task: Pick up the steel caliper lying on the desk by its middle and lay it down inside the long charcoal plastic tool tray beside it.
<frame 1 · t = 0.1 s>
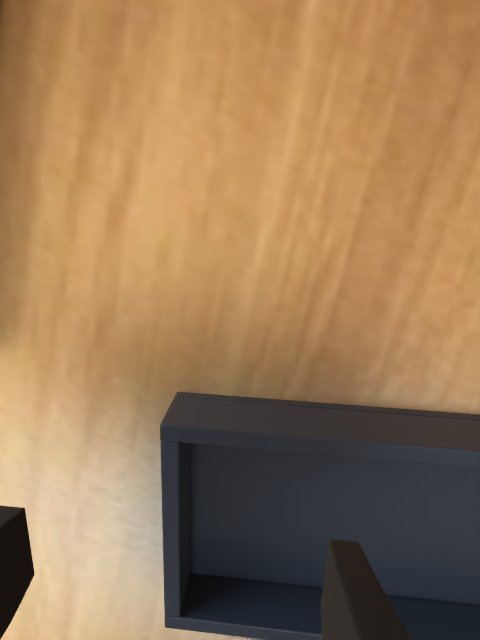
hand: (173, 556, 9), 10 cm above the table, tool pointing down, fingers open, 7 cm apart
tool tray: (416, 513, 20), on the table
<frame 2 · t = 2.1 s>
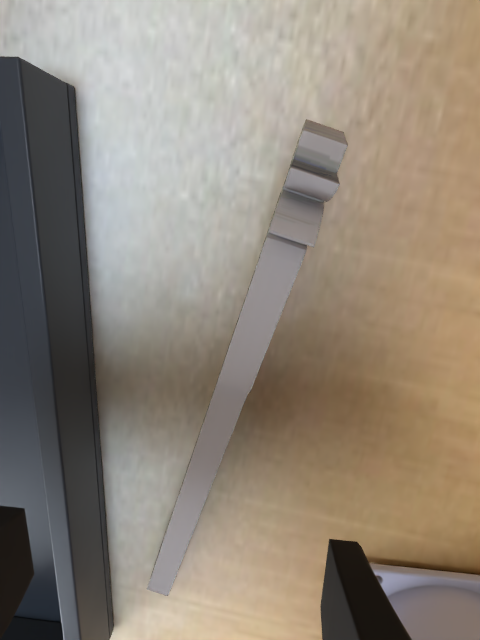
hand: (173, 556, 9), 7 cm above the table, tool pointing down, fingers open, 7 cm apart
caliper: (222, 402, 16), on the table
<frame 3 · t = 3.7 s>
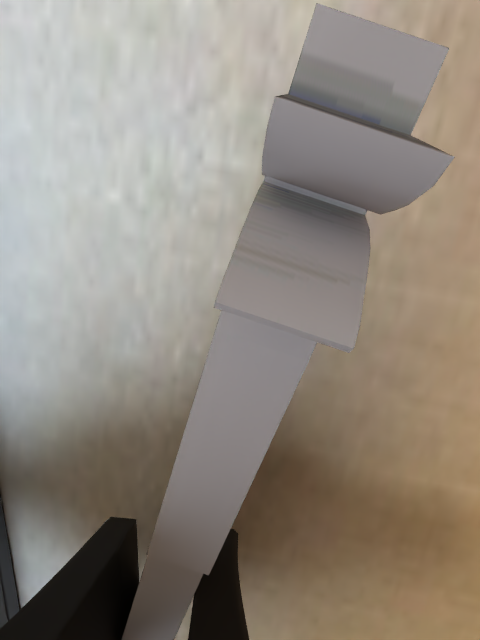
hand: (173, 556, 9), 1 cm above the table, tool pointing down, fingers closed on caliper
caliper: (187, 506, 11), on the table, touching gripper
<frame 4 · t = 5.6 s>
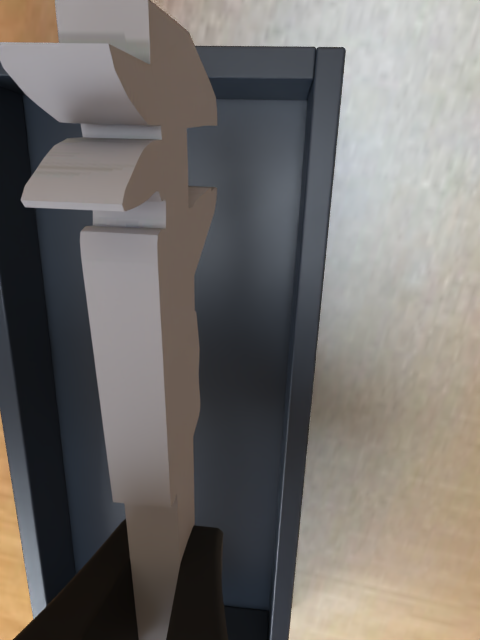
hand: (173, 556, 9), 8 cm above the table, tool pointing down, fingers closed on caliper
tool tray: (170, 392, 18), on the table
caliper: (190, 499, 11), point 6 cm above the table, touching gripper
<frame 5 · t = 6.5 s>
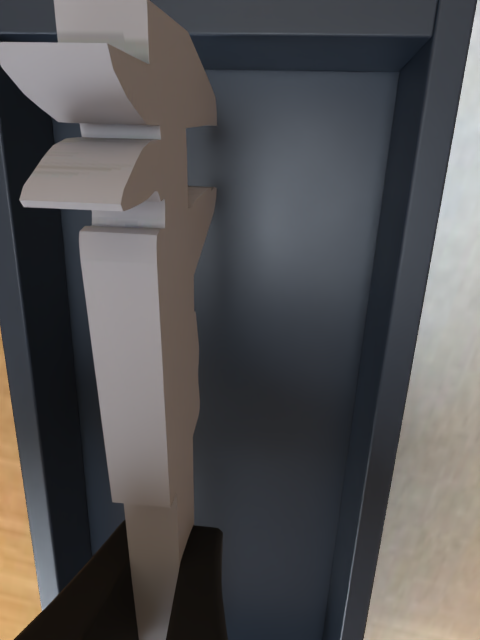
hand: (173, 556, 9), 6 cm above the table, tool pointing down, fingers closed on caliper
tool tray: (213, 419, 15), on the table
caliper: (190, 499, 11), point 4 cm above the table, touching gripper
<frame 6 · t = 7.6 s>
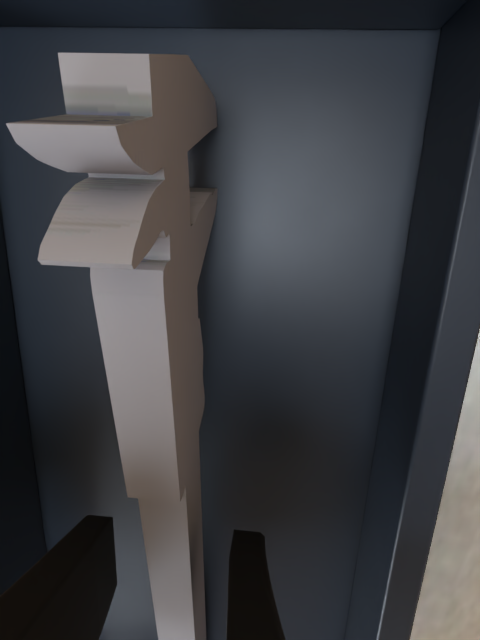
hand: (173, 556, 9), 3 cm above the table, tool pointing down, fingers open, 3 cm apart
tool tray: (199, 468, 12), on the table
caliper: (197, 479, 12), resting on tool tray
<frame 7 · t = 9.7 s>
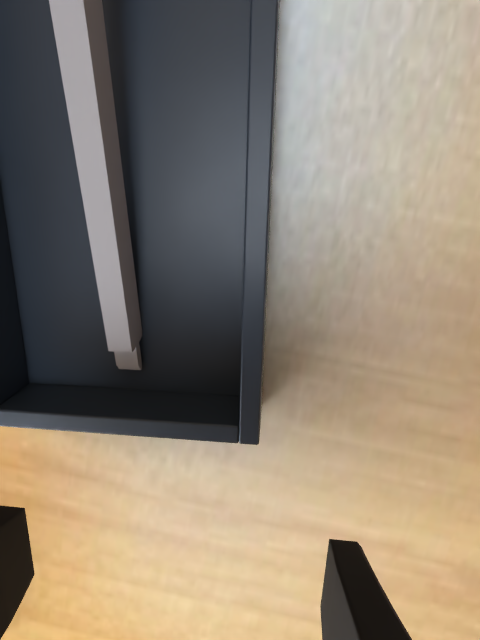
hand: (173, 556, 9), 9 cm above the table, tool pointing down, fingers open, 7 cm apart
tool tray: (123, 111, 15), on the table
caliper: (120, 114, 15), resting on tool tray
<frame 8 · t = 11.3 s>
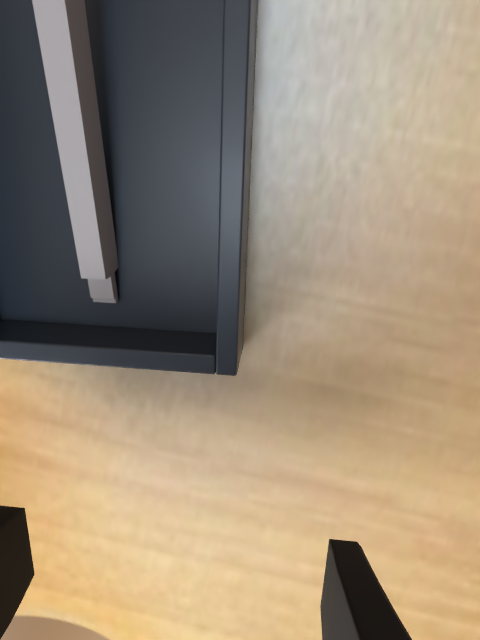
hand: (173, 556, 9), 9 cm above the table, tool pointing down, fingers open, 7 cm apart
tool tray: (97, 21, 15), on the table
caliper: (94, 22, 14), resting on tool tray
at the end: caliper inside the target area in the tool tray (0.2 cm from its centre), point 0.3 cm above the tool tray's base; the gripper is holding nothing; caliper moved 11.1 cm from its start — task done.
